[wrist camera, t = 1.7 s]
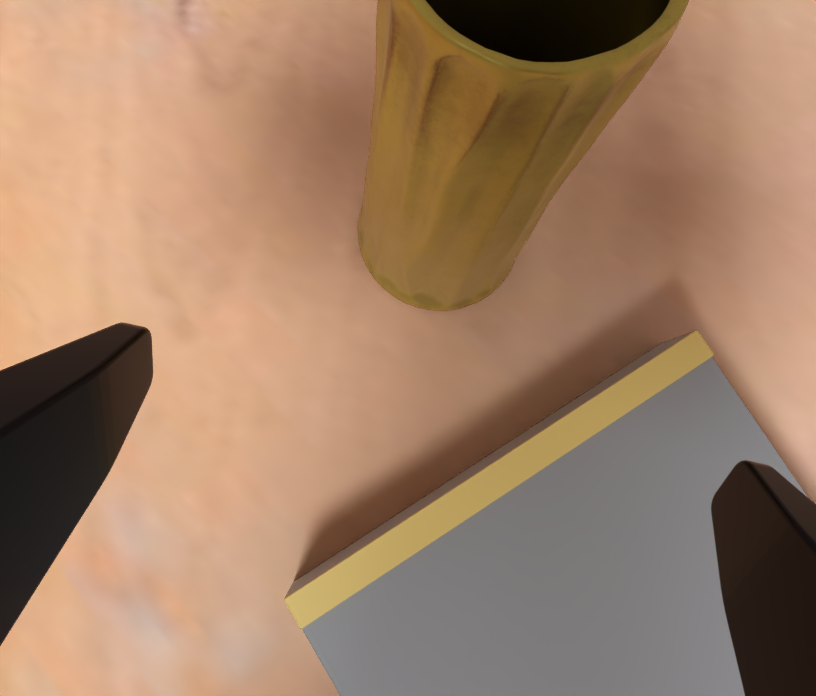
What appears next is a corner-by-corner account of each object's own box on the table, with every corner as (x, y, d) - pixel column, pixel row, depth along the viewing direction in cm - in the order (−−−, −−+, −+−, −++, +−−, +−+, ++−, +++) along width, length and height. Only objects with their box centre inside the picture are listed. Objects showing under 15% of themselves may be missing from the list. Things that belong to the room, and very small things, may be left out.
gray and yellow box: (482, 908, 20) (500, 976, 18) (293, 581, 22) (283, 600, 19) (849, 623, 23) (913, 646, 20) (660, 343, 24) (697, 330, 21)
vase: (548, 252, 24) (804, -25, 10) (422, 344, 23) (513, 178, 9) (452, 131, 25) (571, -290, 11) (325, 216, 24) (273, -124, 10)
